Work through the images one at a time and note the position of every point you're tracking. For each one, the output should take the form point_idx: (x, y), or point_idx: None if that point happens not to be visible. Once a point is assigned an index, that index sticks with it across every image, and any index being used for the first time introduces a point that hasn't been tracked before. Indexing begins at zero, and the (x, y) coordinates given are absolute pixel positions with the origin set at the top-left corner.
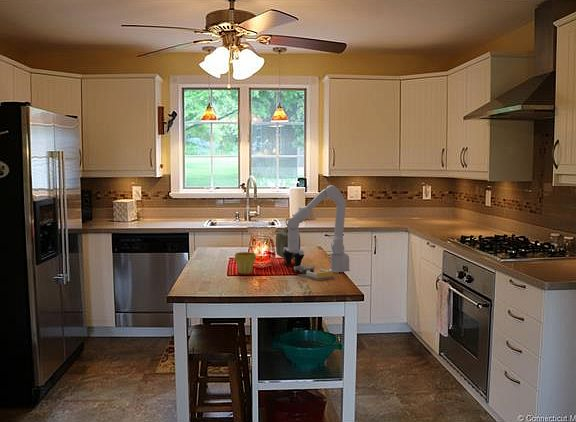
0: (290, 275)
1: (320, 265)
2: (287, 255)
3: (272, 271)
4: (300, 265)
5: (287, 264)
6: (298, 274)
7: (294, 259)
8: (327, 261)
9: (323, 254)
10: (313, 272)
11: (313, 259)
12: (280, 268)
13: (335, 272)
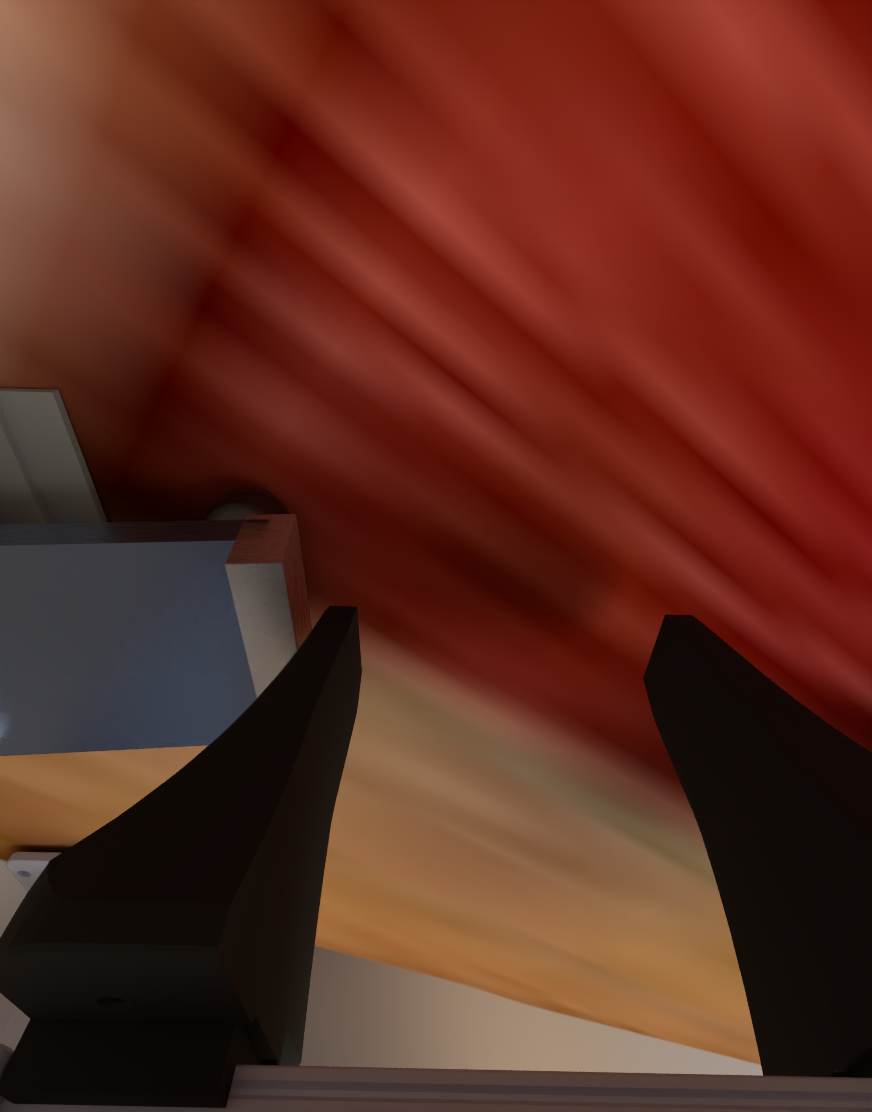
0: (55, 200)
1: (513, 932)
2: (826, 877)
3: (849, 116)
4: None
5: (680, 631)
6: (49, 419)
7: None
8: (607, 1014)
9: None
10: None
11: None
12: (860, 539)
13: (33, 852)
